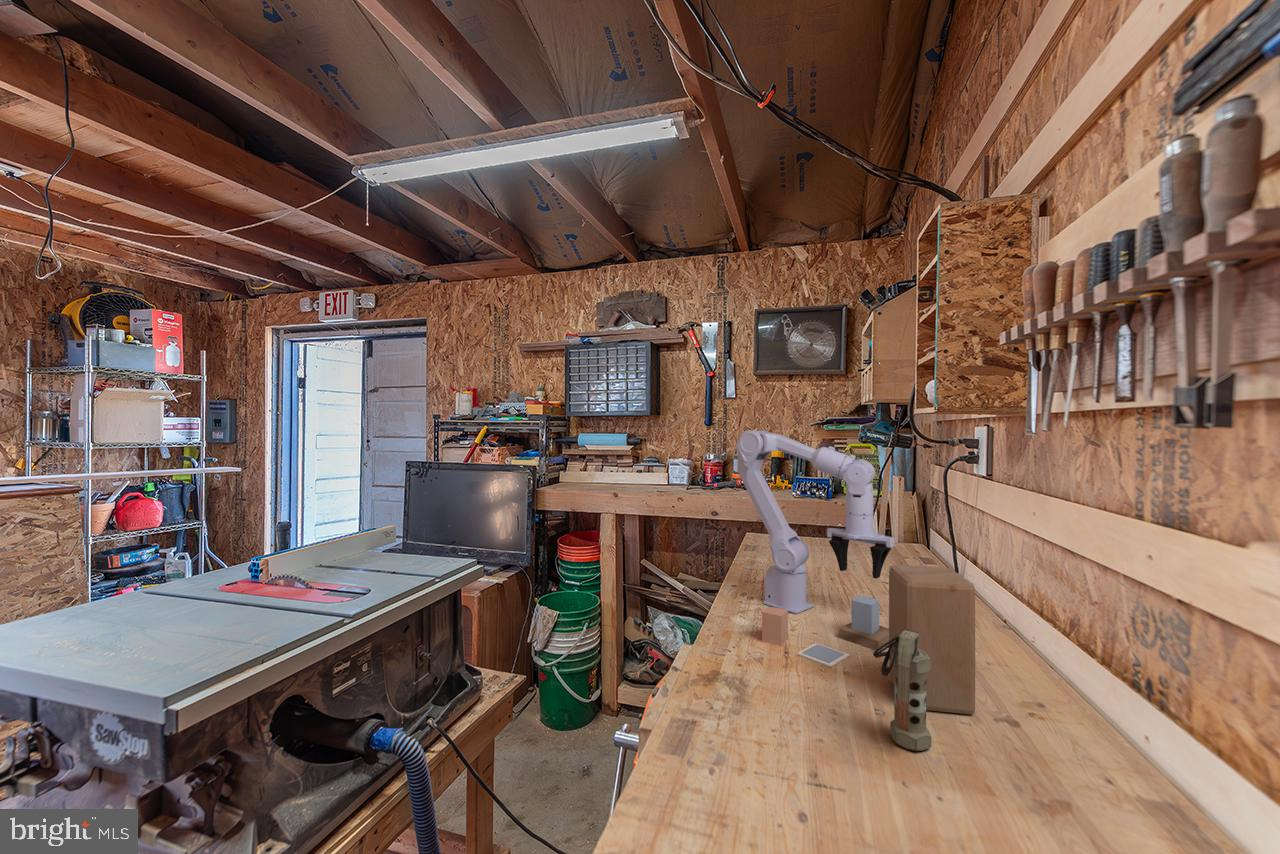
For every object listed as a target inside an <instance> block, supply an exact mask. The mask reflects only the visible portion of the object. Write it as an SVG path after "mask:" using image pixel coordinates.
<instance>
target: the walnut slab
mask: <svg viewBox="0 0 1280 854" xmlns="http://www.w3.org/2000/svg"><path fill="white" fill-rule="evenodd" d="M838 638H839V639H840V640H844V641H846V642H849V643H852V644H856V645H859V646H862V647H865V648H868V649H871V650H874V651H875V650H877V649H878V648H880V647H881V646H883V645H884V644H885V643H887V642H888V641H889V627H886V626H882V625H879V630H877V631H876V632H875V633H874V634H872V635H870V634H866V633H863V632H859V631H856V630H852V621H851V622H848V623H847V624H845V625H843V626H841V627H839V629H838ZM888 645H889V644H888ZM888 645H887V646H888ZM885 647H886V646H885ZM885 647H884V648H885Z"/></svg>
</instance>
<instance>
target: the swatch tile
mask: <svg viewBox="0 0 1280 854" xmlns="http://www.w3.org/2000/svg"><path fill="white" fill-rule="evenodd" d="M796 655H797V656H800V657H802V658H805V659H806V660H809V661H813V662H815V663H818V664H820V665H824V666H826V667H829V668H833V667H834V666H836V665H838V664H839V663H841V662H843V661H844V660H846V659H847V658H850V656H851V655H850V654H849V653H846V652H843V651H840V650H838V649H835V648H831V647H828V646H826V645H823V644H820V643H817V642H815V643H813V644H812V645H810V646H807V647H805V648H803V649H802V650H800V651H798V652H796Z"/></svg>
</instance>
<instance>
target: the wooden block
mask: <svg viewBox="0 0 1280 854" xmlns="http://www.w3.org/2000/svg"><path fill="white" fill-rule="evenodd" d="M888 628H889V641H890V640H891V639H893V638H895V637H896V636H897V637H898V636H900V634H901V633H902V632H903V631H904V630H906V631H907V630H911V631H915V632H918V633H919V634H920V635H919V637H918V644H917V648H918V649H919V650H922V651H924V652H926V653H927V654H928V655H929V657H930V659H931V670H930V671H929V672H927V673H926V711H934V712H942V713H945V712H946V713H954V714H962V715H972V714H974V713H975V711H976V586H975V585H974V583H973V582H971V581H970V580H968V579H967V578H965V577H963V576H962V575H961V574H960V573H958V572H956V571H955V570H953V569H951V568H949V567H944V566H925V565H924V566H922V565H906V564H905V565H904V564H903V565H902V564H893V565H890V567H889V570H888ZM895 641H896V640H894V641H893V642H895ZM891 643H892V642H891ZM891 643H890V644H891ZM893 647H894V645H893V646H892V648H893ZM890 665H891V659H890V658H889V661H888V666H889V667H890ZM888 676H889V679H890V682H891V683H892V685H893V686H894V666H893V667H892V669H891V671H890V673H889V674H888Z"/></svg>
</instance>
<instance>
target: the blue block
mask: <svg viewBox="0 0 1280 854" xmlns="http://www.w3.org/2000/svg"><path fill="white" fill-rule="evenodd" d="M851 622H852V630H856V631H859V632H863V633H866V634H870V635H872V634H874V633H875V632H876V631H877V630H879V626H880V599H877V598H872V597H869V596H868V597H867V596H864V595H861V594H860V595H857V596H856V597H854V598H853V599H851Z"/></svg>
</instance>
